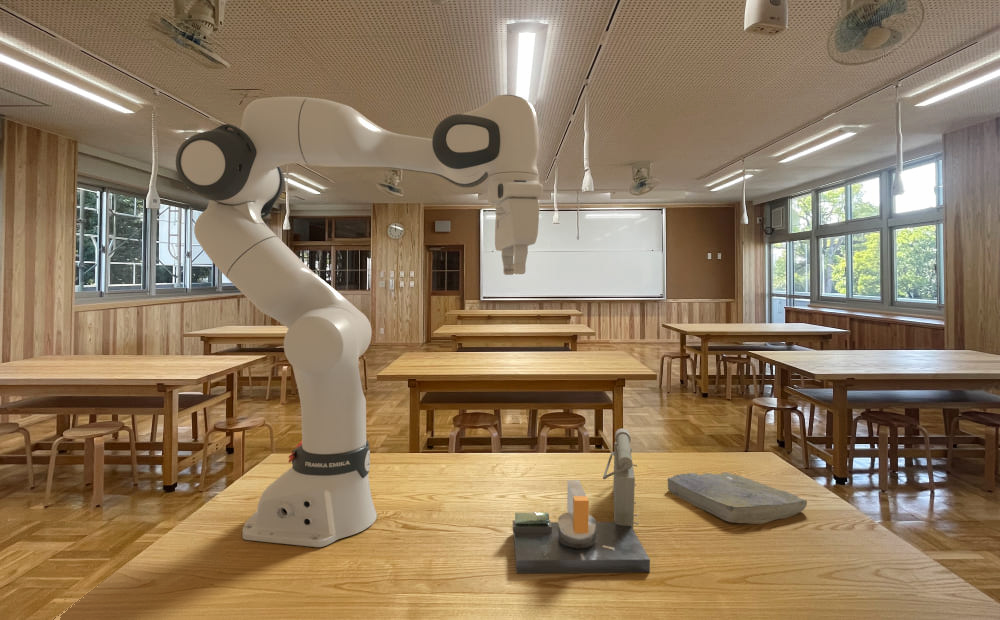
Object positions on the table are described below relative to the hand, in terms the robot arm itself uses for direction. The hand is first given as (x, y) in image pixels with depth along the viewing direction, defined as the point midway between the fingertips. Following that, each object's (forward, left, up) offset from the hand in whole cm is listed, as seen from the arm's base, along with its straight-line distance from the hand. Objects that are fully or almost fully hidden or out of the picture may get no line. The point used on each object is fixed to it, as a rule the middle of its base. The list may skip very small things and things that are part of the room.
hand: (513, 274), depth 90 cm
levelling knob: (+10, -9, -43) cm, 45 cm away
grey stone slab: (+44, +10, -46) cm, 64 cm away
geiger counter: (+21, +8, -45) cm, 51 cm away
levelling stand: (+10, -9, -45) cm, 47 cm away
